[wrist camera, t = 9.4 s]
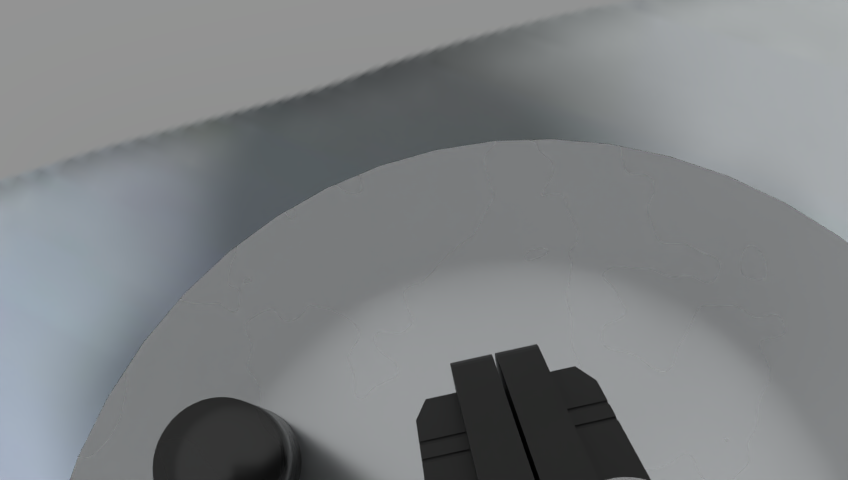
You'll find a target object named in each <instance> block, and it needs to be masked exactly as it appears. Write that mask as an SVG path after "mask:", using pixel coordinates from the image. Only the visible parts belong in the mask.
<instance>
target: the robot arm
mask: <svg viewBox="0 0 848 480" xmlns="http://www.w3.org/2000/svg"><path fill="white" fill-rule="evenodd" d="M495 361H496V365H495V362H494V359H493V356H492V354H489V355H485V356H480V357H476V358H471V359H467V360H462V361H458V362H453V363H450V366H451V371H452V376H453V381H454V385H455V390H456V393H452V394H447V395H443V396H438V397H433V398H429V399H425V402H424V404H423V406H422V408H421V410H420V413H419V415H418V417H417V419H416V425H417V431H418V438H419V444H420V452H421V459H422V466H423V473H424V480H651V479H650V477H649V475H648V474H647V472H646V470H645V468H644V466H643V464H642V463H641V461H640V459H639V457H638V455H637V453H636V452H635V450H634V448H633V446H632V444H631V442H630V441H629V439H628V437H627V435H626V433H625V431H624V430H623V428H622V426H621V424H620V422H619V420H618V421H617V418H616V415H615V413H614V411H613V409H612V408H611V406H610V404H608V401H607V398H606V397H605V395H604V393H603V391H602V389H601V387H600V386H599V384H598V382H597V380H595V379H594V378H592V377H591V376H589V375H588V374H586V373H585V372H583V371H582V370H580V369H579V368H577V367H576V366H573V367H569V368H564V369H560V370H555V371H551V372H550V370H549V368H548V366H547V364H546V362H545V359H544V357H543V355H542V353H541V351H540V348H539V346H538V345H537V344H534V345H530V346H525V347H521V348H516V349H511V350H507V351H502V352H498V353H495Z"/></svg>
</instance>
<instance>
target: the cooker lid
mask: <svg viewBox="0 0 848 480" xmlns="http://www.w3.org/2000/svg"><path fill="white" fill-rule="evenodd" d="M534 344H537V345H538V346H539V348H540V351H541V353H542V355H543V357H544V359H545V362H546V364H547V366H548V368H549V370H550V372H551V371H555V370H560V369H564V368H569V367H573V366H576V367H577V368H579V369H580V370H582V371H583V372H585V373H586V374H588V375H589V376H591V377H592V378H594V379H595V380H597V382H598V384H599V386H600V387H601V389H602V391H603V393H604V395H605V397H606V398H607V401H608V404H610V406H611V408H612V409H613V411H614V413H615V415H616V418H617V421H618V420H619V422H620V424H621V426H622V428H623V430H624V431H625V433H626V435H627V437H628V439H629V441H630V442H631V444H632V446H633V448H634V450H635V452H636V453H637V455H638V457H639V459H640V461H641V463H642V464H643V466H644V468H645V470H646V472H647V474H648V475H649V477H650V479H651V480H848V243H847V242H846V241H845V240H844V239H842V238H841V237H840V236H838V235H836V234H835V233H833V232H832V231H830V230H828V229H827V228H825V227H823V226H822V225H820V224H819V223H817V222H815V221H814V220H812V219H810V218H809V217H807V216H806V215H804V214H802V213H801V212H799V211H798V210H796V209H794V208H793V207H791V206H789V205H788V204H786V203H784V202H782V201H780V200H778V199H776V198H774V197H772V196H769V195H767V194H765V193H763V192H761V191H759V190H757V189H755V188H752V187H750V186H748V185H746V184H744V183H742V182H740V181H738V180H735V179H733V178H731V177H729V176H726V175H723V174H720V173H717V172H714V171H711V170H708V169H706V168H703V167H700V166H697V165H694V164H691V163H688V162H685V161H682V160H679V159H676V158H673V157H669V156H665V155H660V154H655V153H650V152H646V151H641V150H636V149H631V148H627V147H622V146H617V145H612V144H602V143H591V142H579V141H568V140H557V139H541V140H509V141H491V142H484V143H478V144H471V145H465V146H458V147H452V148H445V149H439V150H434V151H431V152H427V153H424V154H420V155H417V156H413V157H409V158H406V159H402V160H399V161H395V162H392V163H388V164H384V165H381V166H379V167H376V168H374V169H371V170H369V171H367V172H364V173H362V174H359V175H357V176H355V177H352V178H350V179H347V180H345V181H343V182H340V183H338V184H335V185H333V186H331V187H328V188H326V189H325V190H323V191H321V192H319V193H317V194H316V195H314V196H312V197H310V198H309V199H307V200H305V201H303V202H302V203H300V204H298V205H296V206H295V207H293V208H291V209H289V210H287V211H286V212H284V213H282V214H280V215H279V216H277V217H275V218H274V219H273V220H271V221H270V222H269V223H267V224H266V225H265V226H263V227H262V228H261V229H259V230H258V231H256V232H255V233H254V234H252V235H251V236H250V237H248V238H247V239H246V240H244V241H243V242H242V243H240V244H239V245H238V246H236V247H235V248H233V249H232V250H231V251H229V252H228V253H227V254H226V255H225V256H224V257H223V258H222V259H221V260H220V261H219V262H218V263H216V264H215V265H214V266H213V267H212V268H211V269H210V270H209V271H208V272H207V273H206V274H205V275H204V276H203V277H202V278H201V279H199V280H198V281H197V282H196V283H195V284H194V285H193V286H192V287H191V288H190V289H189V290H188V291H187V292H186V293H185V294H184V295H183V296H182V297H181V298H180V299H179V301H178V302H177V303H176V304H175V305H174V307H173V308H172V309H171V310H170V311H169V313H168V314H167V315H166V316H165V317H164V319H163V320H162V321H161V322H160V323H159V325H158V326H157V327H156V328H155V329H154V331H153V332H152V333H151V334H150V335H149V337H148V338H147V339H146V340H145V341H144V343H143V344H142V346H141V347H140V349H139V350H138V352H137V353H136V355H135V356H134V358H133V359H132V361H131V362H130V364H129V366H128V367H127V369H126V370H125V372H124V373H123V375H122V376H121V378H120V379H119V381H118V382H117V384H116V385H115V387H114V388H113V390H112V392H111V393H110V395H109V396H108V398H107V400H106V402H105V404H104V406H103V408H102V410H101V412H100V414H99V416H98V418H97V420H96V422H95V424H94V426H93V428H92V430H91V432H90V434H89V436H88V438H87V440H86V442H85V444H84V446H83V448H82V450H81V452H80V454H79V456H78V459H77V462H76V464H75V467H74V470H73V473H72V475H71V478H70V480H424V473H423V466H422V459H421V452H420V444H419V438H418V431H417V425H416V419H417V417H418V415H419V413H420V410H421V408H422V406H423V404H424V402H425V399H429V398H433V397H438V396H443V395H447V394H452V393H456V390H455V385H454V381H453V376H452V371H451V366H450V363H453V362H458V361H462V360H467V359H471V358H476V357H480V356H485V355H489V354H492V356H493V359H494V362H495V365H496V361H495V353H498V352H502V351H507V350H511V349H516V348H521V347H525V346H530V345H534Z"/></svg>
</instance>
